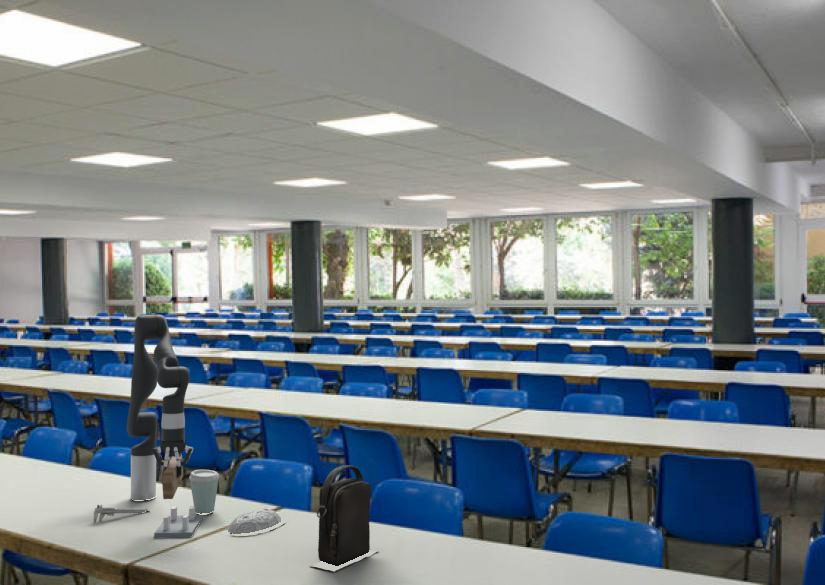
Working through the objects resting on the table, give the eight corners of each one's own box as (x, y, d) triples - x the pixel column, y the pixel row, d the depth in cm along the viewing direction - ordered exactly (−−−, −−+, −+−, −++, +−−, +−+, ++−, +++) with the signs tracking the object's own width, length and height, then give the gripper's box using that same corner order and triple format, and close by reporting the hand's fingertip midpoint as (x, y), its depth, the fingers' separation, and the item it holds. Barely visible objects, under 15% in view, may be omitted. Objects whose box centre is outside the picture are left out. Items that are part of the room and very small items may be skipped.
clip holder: (168, 520, 274) (168, 504, 274) (203, 519, 275) (203, 503, 275) (154, 537, 254) (154, 520, 254) (191, 536, 255) (191, 520, 255)
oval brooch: (211, 531, 260) (214, 511, 260) (263, 517, 281) (266, 499, 281) (245, 544, 252) (248, 524, 252) (296, 529, 273) (298, 510, 273)
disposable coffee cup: (223, 509, 288) (223, 468, 288) (213, 517, 277) (213, 475, 277) (195, 508, 289) (195, 468, 289) (184, 516, 278) (184, 474, 278)
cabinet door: (174, 475, 273) (173, 454, 271) (187, 475, 273) (186, 454, 271) (163, 499, 257) (161, 477, 255) (176, 498, 258) (175, 476, 256)
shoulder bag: (356, 546, 247) (357, 457, 247) (380, 552, 242) (380, 461, 242) (309, 567, 228) (309, 470, 228) (333, 573, 223) (334, 474, 223)
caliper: (94, 524, 270) (94, 505, 270) (93, 523, 271) (93, 505, 271) (150, 512, 285) (150, 495, 285) (148, 511, 286) (149, 494, 286)
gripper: (196, 424, 269) (196, 474, 269) (154, 424, 268) (154, 475, 268) (192, 427, 261) (191, 479, 261) (149, 428, 260) (148, 480, 260)
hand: (172, 477), depth 264 cm, fingers closed on cabinet door, 3 cm apart
